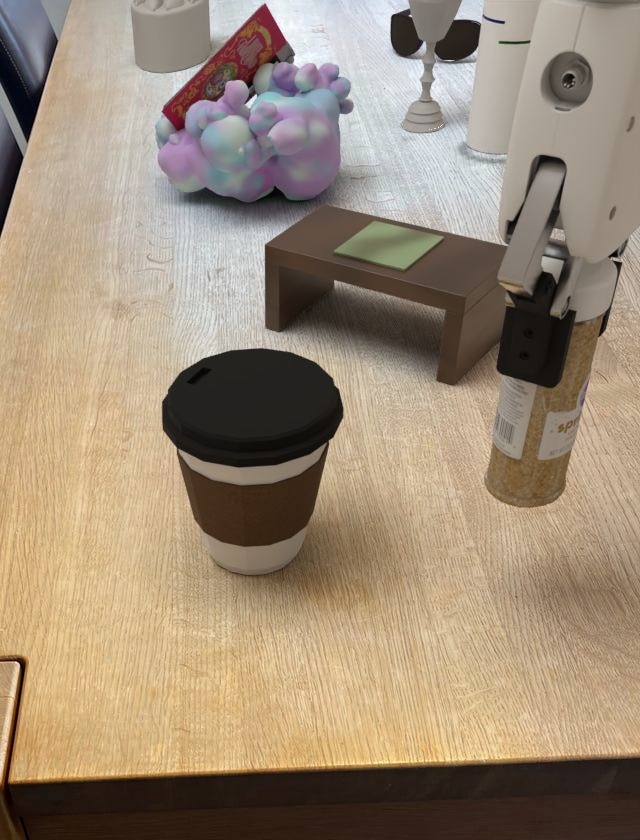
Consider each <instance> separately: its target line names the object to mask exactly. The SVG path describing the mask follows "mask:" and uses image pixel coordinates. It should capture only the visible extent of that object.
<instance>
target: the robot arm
mask: <svg viewBox="0 0 640 840" xmlns="http://www.w3.org/2000/svg"><path fill="white" fill-rule="evenodd" d="M499 202H500V203H499V210H498V224H497V225H498V227H497V228H498V233H499V236H500V238H501V240H502V241H503V243H504V244H505V245H506V246H508V248H507V250H506V253H505V256H504V258H503V261H502V263H501V266H500V268H499V272H498V276H497V281H498V283H499V284H500V285H502V286H503V287H504V288H505V289H506V291H507V292H506V296H505V305H506V311H505V317H504V323H503V329H502V335H501V339H500V340H499V341H500V342H499V348H498V353H497V360H496V367H495V368H496V371H497V373H498V374H500V375H501V376H502V375H505V376H509V377H512V378H515V379H519V380H522V381H526V382H529V383H533V384H536V385H539V386H543V387H546V388H554V387H556V386H557V384H558V383H559V382H560V381H561V379H562V376H563V371H564V367H565V362H566V358H567V353H568V349H569V344H570V340H571V335H572V331H573V326H574V322H575V317H576V313H577V311H574V310H570V309H569V308H570V305H571V302H572V298H573V295H574V291H575V288H576V285H577V281H578V278H579V275H580V271H581V268H582V264H583V261H584V260H585V262H587V263H592V264H594V263H597V262H599V261H601V260H603V259H605V258H606V257H608V258H610V259H611V260H612V261H613V262H614V264H615V265H616V268H617V279H616V284H615V289H614V293H613V297H612V301H611V304H610V306H609V308H608V309H607V310H606V314H605V315H604V316H603V319H602V324H601V327H600V331H599V336H598V338H600V337H601V336H602V335H603V334H604V333H605V332H606V330H607V328H608V327H607V326H608V324H609V323H608V322H609V319H610V315H611V311H612V306H613V302H614V298H615V295H616V291H617V286H618V283H619V278H620V274H621V270H622V268H623V261H619V260H620V259H621V258H622V257H623V256H624V255H625V252H626V250H627V247H628V244H629V241H630V236H632V235H633V234H634V233H635V232H636V231H637V230H638V229H639V228H640V0H541V1H540V5H539V9H538V13H537V17H536V21H535V25H534V29H533V34H532V38H531V42H530V46H529V50H528V55H527V59H526V64H525V68H524V73H523V77H522V82H521V87H520V91H519V96H518V101H517V106H516V111H515V116H514V121H513V126H512V131H511V137H510V142H509V147H508V153H506V160H505V166H504V170H503V179H502V184H501V192H500V201H499ZM554 229H557V230H561V231H563V233H564V240H562V239H559V238H558V239H557V238H553V237H551V236H552V233H553V231H554ZM543 256H544V257H549V258H553V259H558V260H562V261H564V262H563V266H562V269H561V273H560V276H559V280H558V283H556V281H555V279H554V276H553V274H552V273H549V272H545V271H543V268H542V266H541V262H542V257H543ZM612 258H614V259H618V260H613V259H612Z"/></svg>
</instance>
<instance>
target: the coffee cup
mask: <svg viewBox="0 0 640 840" xmlns="http://www.w3.org/2000/svg"><path fill="white" fill-rule="evenodd" d="M343 419H344V405H343V400H342V395H341V391H340V388H338V386H336V384H335V381H334V377H332V376H331V374H329V373H328V372H327V371H326V370H325V369H324V368H323V367H322V366H321V365H320V364H319V363H317V362H316V361H314V360H312V359H308V358H307V357H304V356H302V355H299V354H297V353H294V352H292V351H286V350H279V349H272V348H271V349H270V348H263V347H255V348H242V349H230V350H227V351H223V352H220V353H217V354H213V355H210V356H206V357H203V358H201V359H199V360H198V361H195V362H194V363H192V364H191V365H190V366H188V367H187V368H185V369H183V370H181V371H180V372H179V373H178V375H177V376H176V378H175V379H174V380H173V382H172V383H171V385H170V386H169V387H168V389H167V394H166V395H165V397H164V398H163V399H162V400H161V425H162V427H161V428H162V431H163V432H164V433H165V435H166V436H167V438H168V439H169V440H170V441H171V443H172V444H173V446H174V447H175V449H176V457H177V461H178V464H179V467H180V471H181V475H182V478H183V482H184V486H185V490H186V494H187V498H188V501H189V505H190V508H191V512H192V516H193V519H194V521H195V523H197V525H198V528H199V531H200V535H201V539H202V543H203V546H204V548H205V549H206V551H207V552H208V553H209V554H210V556H211V558H212V559H213V560H214V562H215V563H216V564H217V565H219V566H220V567H222V568H223V569H226V570H227V571H229V572H230V573H235V574H239V575H244V576H256V575H257V576H258V575H268V574H270V573H273V572H275V571H276V572H277V571H279V570H282V569H283V568H284V567H285V566H287V565H288V564H290V563H291V562H292V561H293V560H294V559H295V558H296V556H297V554H298V553H299V551H300V549H301V547H302V545H303V543H304V541H305V538H306V533H307V529H308V525H309V522H310V520H311V518H312V516H313V514H314V512H315V508H316V503H317V499H318V495H319V492H320V491H319V490H320V487H321V482H322V478H323V473H324V469H325V464H326V460H327V457H328V453H329V447H330V441H331V440H332V439H333V438H334V437H335V435H336V433H337V432H338V429H339V427H340V425H341V423H342V421H343Z"/></svg>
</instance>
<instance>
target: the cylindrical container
mask: <svg viewBox="0 0 640 840" xmlns="http://www.w3.org/2000/svg"><path fill="white" fill-rule="evenodd" d="M540 1H541V0H483V7H482V16H481V22H480V23H481V30H480V37H479V45H478V48H477V53H476V61H475V69H474V76H473V85H472V91H471V100H470V108H469V115H468V122H467V131H466V137H465V145H466V146H467V147H469V148H470V149H472V150H474V151H476V152H481V153H483V154H484V153H485V154H496V155H503V154H507V153H508V147H509V142H510V137H511V131H512V126H513V121H514V116H515V111H516V106H517V101H518V96H519V91H520V87H521V82H522V77H523V73H524V68H525V64H526V59H527V55H528V50H529V46H530V42H531V38H532V34H533V29H534V25H535V21H536V17H537V13H538V9H539V5H540Z"/></svg>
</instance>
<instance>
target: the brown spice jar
mask: <svg viewBox="0 0 640 840" xmlns="http://www.w3.org/2000/svg"><path fill="white" fill-rule="evenodd" d="M612 260H613V259H612V258H611V259H610V258H608V257H606V258H605V259H603V260H601V261H599V262H597V263H594V264H592V263H587V262H585V260H584V261H583V264H582V268H581V271H580V275H579V278H578V281H577V285H576V288H575V291H574V295H573V298H572V302H571V305H570V308H569V309H570V310H574V311H577V313H576V317H575V322H574V326H573V331H572V335H571V340H570V344H569V349H568V353H567V358H566V362H565V367H564V371H563V376H562V379H561V381H560V382H559V383H558V384H557V386H556V387H554V388H546V387H543V386H539V385H536V384H533V383H529V382H526V381H522V380H519V379H515V378H512V377H509V376H505V375H502V374H501V381H500V387H499V392H498V399H497V405H496V406H497V407H496V412H495V417H494V424H493V430H492V442H491V443H492V445H491V451H490V454H489V455H490V456H489V461H488V467H487V468H486V470H485V473H484V477H483V480H484V486H485V487H486V490H487V492H488V494H490V495H491V496H492V497H493V498H494V499H495V500H496V501H499V502H500V503H503V504H504V505H509V506H512V507H516V508H519V509H522V508H525V509H526V508H527V509H533V508H539V507H545V506H547V505H550V504H553V503H554V502H555V501H558V499H559V498H560V497H561V496H562V495H563V493H564V492H565V491H566V486H567V479H566V478H567V472H568V468H569V464H570V460H571V454H572V450H573V447H574V445H575V443H576V439H577V436H578V430H579V427H580V422H581V417H582V413H583V408H584V403H585V401H586V395H587V391H588V387H589V382H590V379H591V374H592V371H593V369H592V365H593V361H594V356H595V352H596V350H597V344H598V342H599V341H598V340H599V337H598V336H599V331H600V327H601V324H602V319H603V316H604V315H605V314H606V310H607V309H608V308H609V306H610V304H611V301H612V297H613V293H614V289H615V284H616V279H617V268H616V265H615V264H614V262H613V261H612ZM563 262H564V261H562V260H558V259H553V258H549V257H544V256H543V257H542V262H541V266H542V268H543V271H545V272H549V273H552V274H553V276H554V279H555V281H556V283H558V280H559V276H560V273H561V269H562V266H563Z"/></svg>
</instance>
